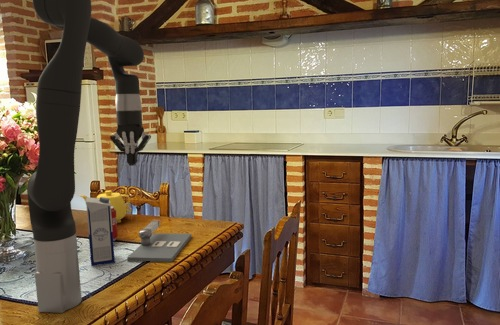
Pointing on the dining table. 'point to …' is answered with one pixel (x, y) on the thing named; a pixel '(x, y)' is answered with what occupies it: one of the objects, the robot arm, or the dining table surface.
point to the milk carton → (100, 231)
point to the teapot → (115, 203)
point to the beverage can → (114, 223)
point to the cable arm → (149, 229)
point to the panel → (160, 247)
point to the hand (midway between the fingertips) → (132, 165)
